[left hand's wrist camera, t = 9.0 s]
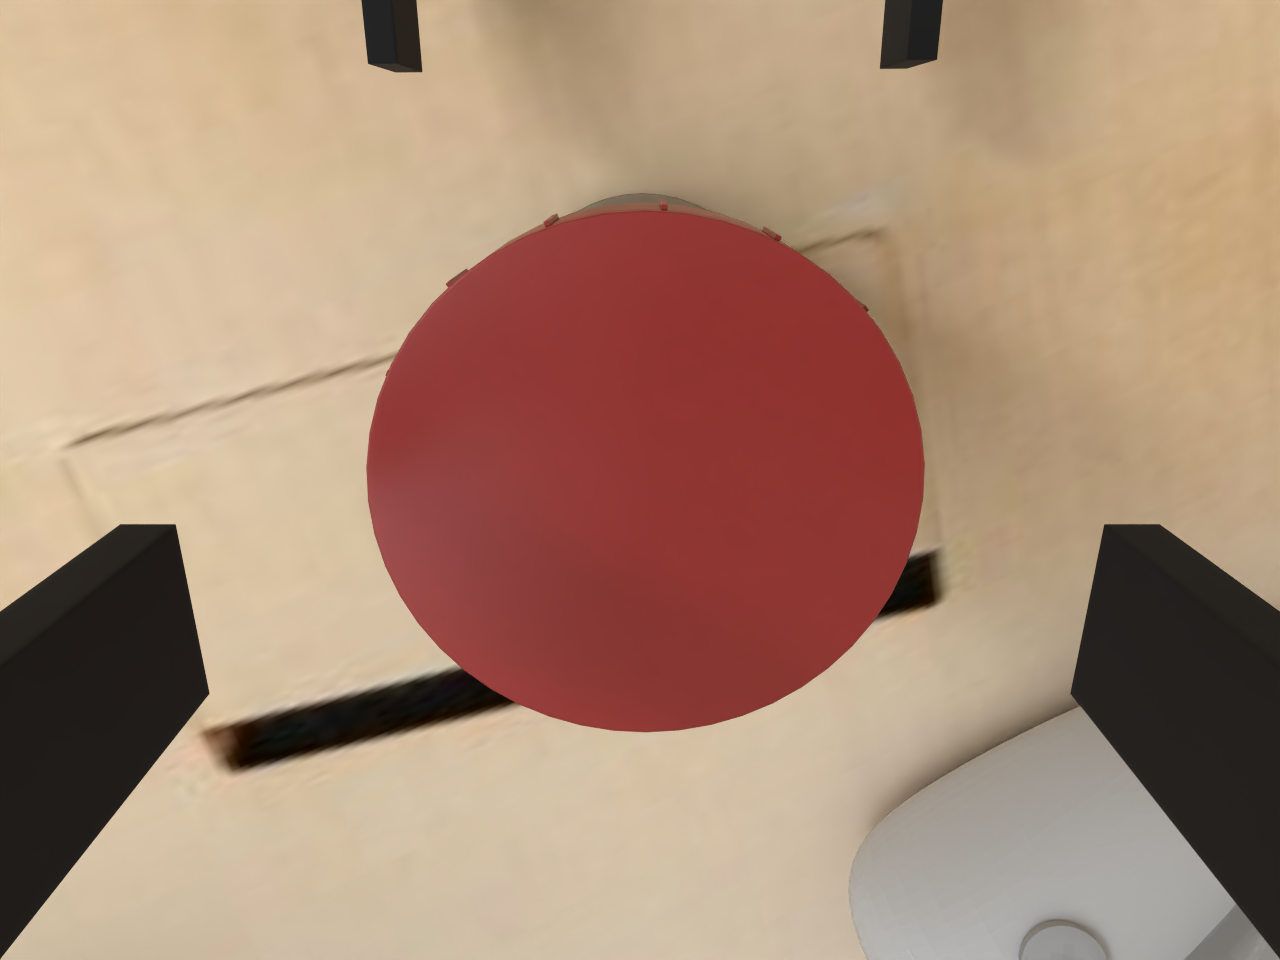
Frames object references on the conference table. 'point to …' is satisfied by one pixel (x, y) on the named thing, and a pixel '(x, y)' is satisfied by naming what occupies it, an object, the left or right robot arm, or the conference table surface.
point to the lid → (645, 469)
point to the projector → (1041, 864)
